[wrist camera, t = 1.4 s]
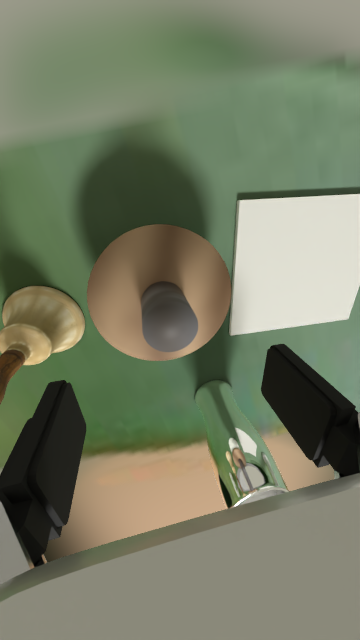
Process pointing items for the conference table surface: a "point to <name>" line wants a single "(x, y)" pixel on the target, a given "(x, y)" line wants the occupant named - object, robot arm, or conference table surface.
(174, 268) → the lid
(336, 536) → the robot arm
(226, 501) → the beer glass
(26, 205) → the conference table surface
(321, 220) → the mat
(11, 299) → the hand bell
